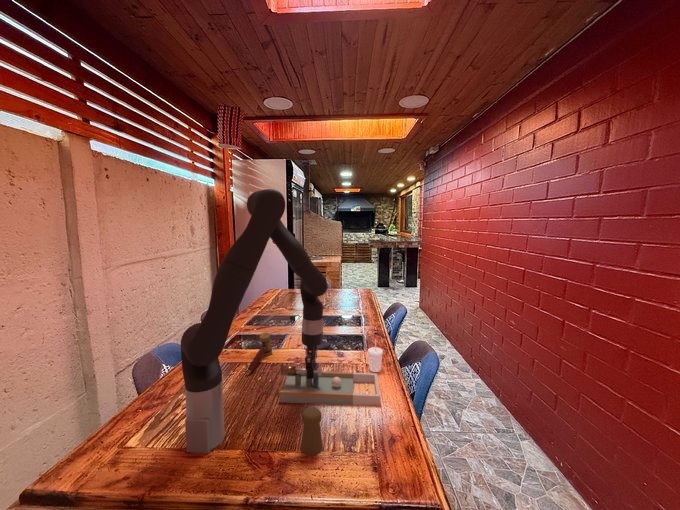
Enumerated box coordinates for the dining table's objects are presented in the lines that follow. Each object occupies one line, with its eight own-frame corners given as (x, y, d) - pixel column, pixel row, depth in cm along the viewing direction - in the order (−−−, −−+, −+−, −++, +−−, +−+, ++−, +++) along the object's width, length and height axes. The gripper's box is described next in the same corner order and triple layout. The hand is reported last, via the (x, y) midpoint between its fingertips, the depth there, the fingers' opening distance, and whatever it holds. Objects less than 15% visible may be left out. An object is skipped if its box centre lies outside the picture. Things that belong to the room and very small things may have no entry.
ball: (341, 389, 97) (341, 380, 97) (331, 389, 97) (331, 380, 97) (341, 384, 101) (341, 375, 100) (332, 383, 101) (332, 374, 100)
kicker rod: (321, 387, 97) (321, 365, 97) (280, 386, 98) (280, 364, 97) (322, 382, 101) (322, 360, 100) (283, 380, 102) (283, 359, 101)
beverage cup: (365, 368, 116) (365, 336, 114) (378, 366, 118) (378, 334, 117) (371, 376, 110) (372, 342, 109) (385, 373, 112) (386, 340, 111)
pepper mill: (311, 436, 79) (311, 400, 78) (327, 447, 75) (327, 409, 74) (296, 449, 74) (295, 411, 73) (311, 461, 70) (311, 422, 69)
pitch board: (379, 407, 91) (380, 389, 91) (279, 403, 93) (279, 384, 93) (376, 383, 105) (377, 367, 105) (289, 379, 107) (289, 363, 106)
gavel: (254, 385, 110) (250, 365, 107) (243, 384, 111) (239, 364, 107) (273, 350, 130) (271, 332, 126) (264, 349, 130) (261, 331, 127)
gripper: (320, 338, 90) (318, 387, 92) (325, 323, 104) (323, 366, 106) (297, 337, 91) (296, 386, 93) (305, 322, 105) (304, 365, 106)
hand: (311, 375), depth 99 cm, fingers open, 3 cm apart
